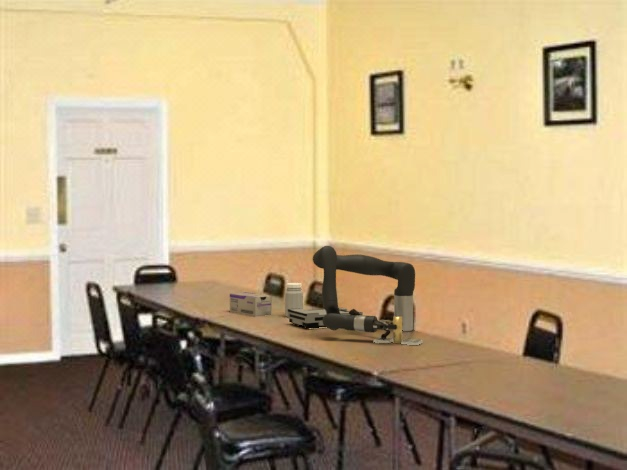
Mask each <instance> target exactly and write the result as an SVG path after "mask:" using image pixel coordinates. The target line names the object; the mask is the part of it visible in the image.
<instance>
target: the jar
mask: <svg viewBox="0 0 627 470" xmlns="http://www.w3.org/2000/svg"><path fill="white" fill-rule="evenodd" d="M302 284H303V283H301V282H288V283H285V287H286V289H285V292H284V315H285V317H286V316H287V317H286V318H288V309H298V308H300V309H304V292H303V290H302V287H303V286H302Z"/></svg>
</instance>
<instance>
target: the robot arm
mask: <svg viewBox="0 0 627 470" xmlns="http://www.w3.org/2000/svg"><path fill="white" fill-rule="evenodd" d="M312 262H313V264H314V265H315V266H316V267H317V268H320V269H323V280H322V286H321V287H322V288H321V297H322V298H321V300H322V307H323V309H325V310H326V315H325V316H324V317H323V324H324V326H325V327H327V328H326V329H329V330H331V331H338V330H340V329H342V330H346V331H349V332H350V331H351V332H352V331H354V332H358V333H359V332H360V333H376V332H377V330H378V331H380V330H381V331H385V330H393V329H394V330H396V329H397V325H396V324H393V319H392V320H391V319H380V320H378V317H377V316H376V315H359V316H355V315H342V314H340V311H339V308H340V307H339V301H338V293H337V292H338V291H337V271H338V270H339V271H344V272H350V273H355V274H359V275H365V276H383V277H387V278H389V279H394V280H397V287H395V288H394V291H393V297H394V298H393V300H394V301H393V305H394V306H393V317H394V316H402V330H403V331H402V332H412V331H414V292H415V291H414V290H415V287H416V286H415V285H416V271H415V267H414V265H413V264H412V263H409V262H403V261H389V260H383V259H381V258H377V257H374V256H370V255H366V254H356V253H355V254H346V255H345V254H344V255H341V254H337V251H336V249H335V248H334V247H333V246H332V245H331V246H330V245H324V246H322V247H320V248H319V249H318V250H317V251H315V252H314V254H313V256H312Z"/></svg>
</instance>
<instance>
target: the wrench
mask: <svg viewBox="0 0 627 470" xmlns="http://www.w3.org/2000/svg"><path fill="white" fill-rule="evenodd" d="M348 311H349V314H350V315H355V316H359V315H361V314H359V312H360V311H359V310H356V309H354V308H352V309H350V310H348ZM358 311H359V312H358ZM384 331H385V332H384V333H382V334H381V336H380V337H383V338H388V336H389V335H390V334H391V329H388V330H384Z"/></svg>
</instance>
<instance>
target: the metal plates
mask: <svg viewBox="0 0 627 470" xmlns="http://www.w3.org/2000/svg"><path fill="white" fill-rule="evenodd" d="M374 342H375V343H374ZM391 342H393V336H390V337H386V338H383V337H381V336H379V337H377V338H375V339H373V343H374V344H379V343H391ZM423 342H424V341H423V339H421V338H417V339H415V338H413V339H412V337H411V338H410V337H409V338H406V339H404V340H403V339H402V341H401V344H407V345H406V346H409V345H418V346H420V345H422V344H423ZM421 343H422V344H421ZM391 344H392V343H391ZM401 344H400V345H401ZM419 344H420V345H419Z"/></svg>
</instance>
